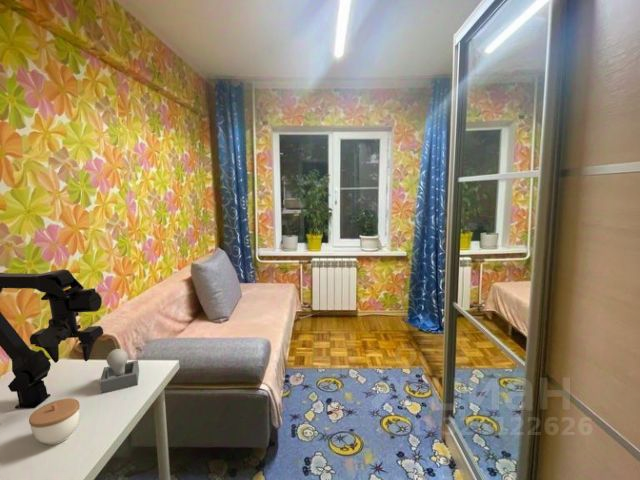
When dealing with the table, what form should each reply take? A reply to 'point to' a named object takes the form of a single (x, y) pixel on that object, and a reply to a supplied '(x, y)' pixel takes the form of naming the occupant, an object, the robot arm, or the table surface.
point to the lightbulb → (117, 361)
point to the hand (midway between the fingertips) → (71, 361)
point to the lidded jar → (55, 421)
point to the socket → (119, 378)
